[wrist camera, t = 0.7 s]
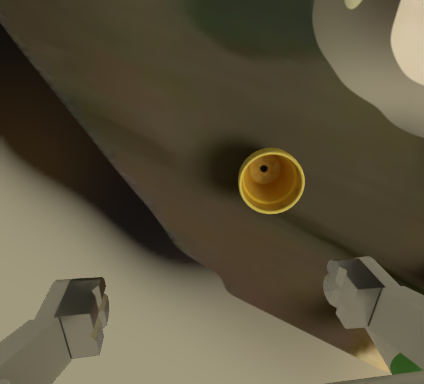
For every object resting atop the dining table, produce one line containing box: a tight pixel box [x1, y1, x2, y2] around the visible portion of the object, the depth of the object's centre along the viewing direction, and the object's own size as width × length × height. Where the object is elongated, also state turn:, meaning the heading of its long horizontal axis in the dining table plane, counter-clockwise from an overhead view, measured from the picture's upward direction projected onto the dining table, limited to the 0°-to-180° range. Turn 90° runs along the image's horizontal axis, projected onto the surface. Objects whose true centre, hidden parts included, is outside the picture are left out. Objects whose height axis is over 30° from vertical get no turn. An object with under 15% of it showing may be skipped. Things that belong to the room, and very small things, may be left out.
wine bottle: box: [365, 327, 422, 375], centre depth 50 cm, size 8×8×30 cm
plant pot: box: [238, 148, 305, 214], centre depth 50 cm, size 10×10×10 cm
